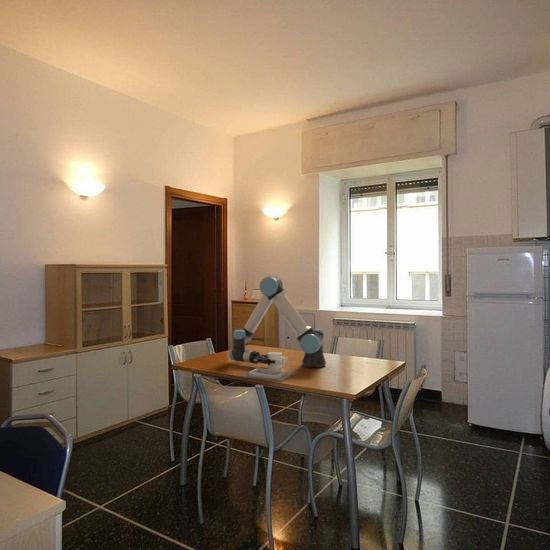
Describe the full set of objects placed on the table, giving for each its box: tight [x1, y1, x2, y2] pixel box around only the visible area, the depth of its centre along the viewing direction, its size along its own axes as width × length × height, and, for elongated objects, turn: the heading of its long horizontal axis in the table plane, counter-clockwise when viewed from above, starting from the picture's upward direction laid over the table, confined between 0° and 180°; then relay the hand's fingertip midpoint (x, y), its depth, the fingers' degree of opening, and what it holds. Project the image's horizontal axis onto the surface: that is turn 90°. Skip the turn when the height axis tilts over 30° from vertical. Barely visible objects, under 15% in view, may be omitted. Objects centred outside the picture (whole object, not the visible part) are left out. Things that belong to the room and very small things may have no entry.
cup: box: [267, 351, 286, 370], centre depth 265 cm, size 8×12×10 cm
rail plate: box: [240, 367, 293, 383], centre depth 250 cm, size 24×18×2 cm
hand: (284, 361), depth 263 cm, fingers closed on cup, 8 cm apart
